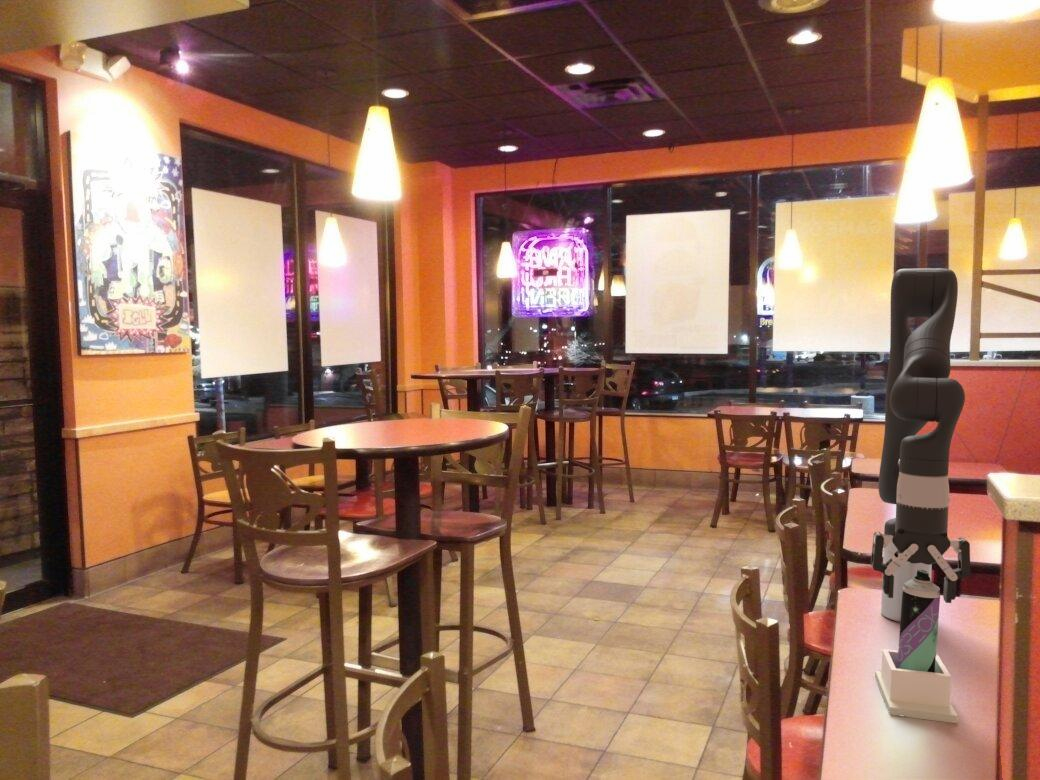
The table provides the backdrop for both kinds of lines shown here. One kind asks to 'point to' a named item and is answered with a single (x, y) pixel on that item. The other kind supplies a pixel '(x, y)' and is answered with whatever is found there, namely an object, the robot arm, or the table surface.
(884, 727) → the table surface
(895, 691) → the can holder
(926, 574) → the spray can
